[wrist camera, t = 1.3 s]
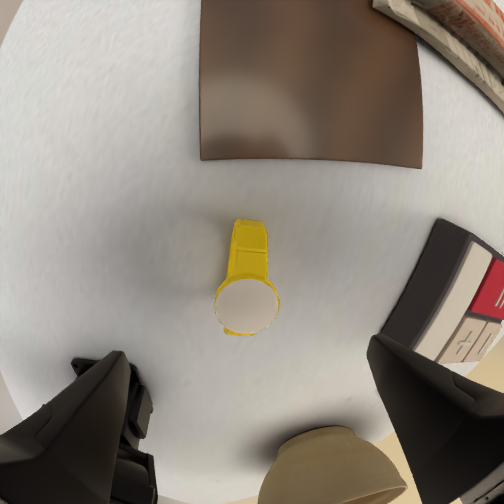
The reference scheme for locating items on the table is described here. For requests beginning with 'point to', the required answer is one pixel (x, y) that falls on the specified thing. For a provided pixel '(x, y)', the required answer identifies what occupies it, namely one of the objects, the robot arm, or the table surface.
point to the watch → (247, 283)
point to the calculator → (451, 298)
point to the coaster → (308, 83)
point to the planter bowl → (331, 471)
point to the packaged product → (459, 36)
